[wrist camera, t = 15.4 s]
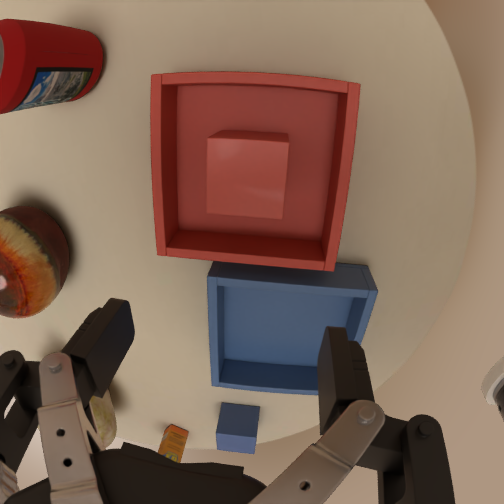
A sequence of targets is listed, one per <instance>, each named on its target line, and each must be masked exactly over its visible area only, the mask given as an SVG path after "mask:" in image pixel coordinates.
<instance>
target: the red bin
mask: <svg viewBox="0 0 504 504" xmlns="http://www.w3.org/2000/svg"><path fill="white" fill-rule="evenodd" d="M359 97H360V84H358V83H353V82H346V81H340V80H333V79H326V78H318V77H309V76H300V75H289V74H276V73H259V72H181V73H164V74H152V75H151V113H150V121H151V169H152V191H153V208H154V222H155V234H156V246H157V255H160V256H170V257H180V258H190V259H201V260H211V261H222V262H233V263H243V264H254V265H265V266H277V267H288V268H299V269H311V270H324V271H334V268H335V263H336V258H337V253H338V248H339V242H340V237H341V231H342V226H343V220H344V214H345V208H346V202H347V195H348V189H349V182H350V175H351V168H352V160H353V153H354V144H355V136H356V127H357V118H358V108H359ZM221 130H242V131H259V132H273V133H285V134H288V135H289V142H290V146H289V158H288V170H287V181H286V192H285V203H284V214H283V219H270V218H259V217H247V216H234V215H221V214H207V213H206V150H207V138H208V137H209V136H211V135H213V134H215V133H217V132H219V131H221Z"/></svg>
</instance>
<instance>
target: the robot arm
mask: <svg viewBox="0 0 504 504" xmlns="http://www.w3.org/2000/svg"><path fill="white" fill-rule="evenodd" d="M134 335H135V329H134V324H133V319H132V313H131V308H130V304H129V302H128V301H127V300H121V299H116V298H110V299H109V300H108V301H107V303H106V304H105V305H104V307H103V308H100V307H99V308H98V309H96V310H94V311H93V312H91V313H90V314H89V315H88V317H87V318H86V319H85V320H84V323H82V324H81V326H80V327H79V330H77V331H76V332H75V334H74V335H73V336H72V338H71V339H70V340H69V342H68V343H67V344H66V346H65V347H64V349H63V350H62V351H61V352H55V353H51V354H49V355H47V356H45V357H44V358H43V359H42V361H41V362H37V361H25V359H24V357H23V355H22V354H21V353H20V352H19V351H15V350H11V351H7V352H5V353H3V354H2V355H1V356H0V504H323V503H324V502H325V501H326V500H327V499H328V498H329V497H330V495H331V494H332V493H333V492H334V491H335V490H336V488H337V487H338V486H339V485H340V483H341V482H342V481H343V480H344V478H345V477H346V476H347V475H348V473H349V472H350V471H351V470H352V468H353V467H354V466H355V465H357V466H361V467H365V468H369V469H373V470H377V473H378V499H379V504H455V498H454V491H453V485H452V479H451V473H450V467H449V462H448V457H447V452H446V447H445V443H444V438H443V433H442V429H441V426H440V424H439V423H438V421H437V420H436V419H434V418H433V417H431V416H428V415H422V414H421V415H416V416H414V417H412V418H411V419H410V420H409V421H404V420H400V419H396V418H392V417H389V416H387V415H385V414H384V411H383V410H382V408H381V407H380V406H379V405H378V404H376V403H375V400H374V396H373V390H372V385H371V381H370V376H369V371H368V367H367V363H366V358H365V353H364V350H363V348H362V347H361V346H360V345H359V343H358V342H357V341H349V340H348V336H347V331H346V328H345V327H333V326H326V328H325V332H324V335H323V339H322V343H321V347H320V350H319V354H318V360H317V376H318V395H319V416H320V435H323V436H322V437H321V438H320V439H319V440H318V441H317V442H316V443H315V444H314V443H313V444H311V445H310V446H309V447H308V448H307V449H306V450H305V451H304V452H303V453H302V454H301V455H300V456H299V457H298V458H297V459H296V460H295V461H294V462H293V463H292V464H291V465H290V466H289V467H288V468H287V469H286V470H285V471H284V472H283V473H282V474H281V475H279V476H278V477H277V478H276V479H275V480H274V481H273V482H272V483H271V484H270V485H269V486H268V487H267V486H266V485H264V484H263V483H262V482H260V481H258V480H257V479H255V478H252V477H250V476H248V475H245V474H243V470H244V467H241V466H233V465H226V464H220V463H212V462H211V463H178V462H175V461H173V460H171V459H169V458H167V457H165V456H163V455H161V454H159V453H157V452H155V451H153V450H151V449H147V448H144V447H140V446H137V445H133V444H130V443H126V442H123V445H122V447H121V449H108V450H106V449H105V446H104V444H103V442H102V440H101V437H100V434H99V430H98V427H97V424H96V420H95V417H94V413H93V409H92V405H91V403H90V400H91V398H92V396H96V397H99V398H103V396H104V394H105V392H106V390H107V389H108V387H109V385H110V383H111V381H112V379H113V377H114V375H115V374H116V372H117V370H118V368H119V366H120V364H121V362H122V361H123V359H124V357H125V355H126V353H127V351H128V350H129V348H130V346H131V344H132V342H133V340H134ZM13 396H14V397H15V399H16V400H15V402H14V404H13V405H12V407H11V409H10V411H9V412H8V414H7V416H6V418H5V419H4V412H5V410H6V408H7V406H8V405H9V403H10V401H11V399H12V398H13ZM493 399H494V401H495V403H496V404H497V406H498V410H499V411H500V413H501V416H502V418H503V420H504V378H503V379H502V380H501V381H500V382H499V383H498V385H497V386H496V388H495V390H494V392H493ZM38 425H39V428H40V435H41V441H42V447H43V453H44V458H45V463H46V467H47V472H48V476H49V477H48V478H46V479H44V480H42V481H40V482H38V483H36V484H34V485H31V486H29V487H27V488H25V489H23V490H21V491H19V487H18V485H17V477H16V472H17V470H18V467H19V465H20V463H21V460H22V458H23V456H24V454H25V452H26V450H27V448H28V445H29V443H30V441H31V439H32V437H33V435H34V433H35V431H36V429H37V427H38Z"/></svg>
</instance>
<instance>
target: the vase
mask: <svg viewBox="0 0 504 504" xmlns="http://www.w3.org/2000/svg"><path fill="white" fill-rule="evenodd" d="M68 269H69V250H68V245H67V242H66V239H65V236H64V234H63V232H62V230H61V228H60V227H59V226H58V224H57V223H56V222H55V221H54V219H53V218H51V217H50V216H49V215H48V214H47V213H45V212H44V211H42V210H40V209H37V208H34V207H30V206H17V207H12V208H8V209H5V210H3V211H1V212H0V315H2V316H5V317H9V318H27V317H31V316H33V315H36V314H38V313H40V312H41V311H43V310H44V309H45V308H47V307H48V306H49V305H50V304H51V303H52V302H53V301H54V299H55V298H56V297H57V295H58V294H59V292H60V291H61V289H62V287H63V285H64V282H65V280H66V277H67V274H68Z"/></svg>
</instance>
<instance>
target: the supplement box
mask: <svg viewBox="0 0 504 504" xmlns="http://www.w3.org/2000/svg"><path fill="white" fill-rule="evenodd" d="M187 436H188V431H185V430H183V429H181V428H178V427H176V426H174V425H170V426H169V427H168V428H167V429H166V430H165V431H164V434H163V438H162V441H161V444H160V448H159V450H158V453H159V454H161V455H163V456H165V457H167V458H169V459H171V460H173V461H175V462H178V463H180V462H181V458H182V454H183V451H184V447H185V443H186V440H187Z"/></svg>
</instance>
